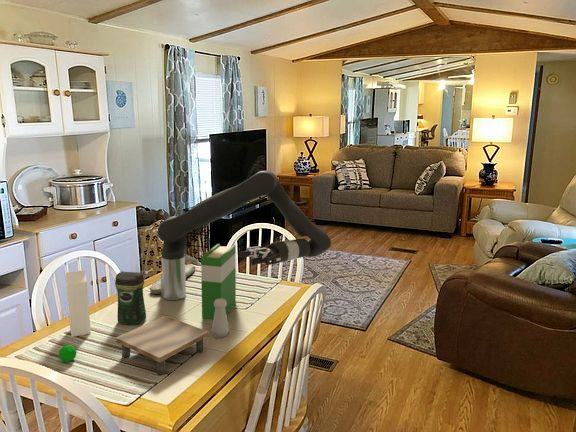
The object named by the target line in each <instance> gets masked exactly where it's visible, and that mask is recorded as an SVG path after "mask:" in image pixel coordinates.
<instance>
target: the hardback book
mask: <svg viewBox="0 0 576 432" xmlns="http://www.w3.org/2000/svg"><path fill="white" fill-rule="evenodd" d="M236 252H237V251H236V244H233V245H232V246H224V245H223V246H222V245H221V244H220V243H217V244H215V245H214V246H213V247H212V248H210V249H209V250H208V251H207V252H205V253H204V254H203V255H202V256H201V257H200V260H201V261H200V263H201V264H200V265H201V266H200V268H201V269H200V270H201V272H200V273H201V319H202V320H206V321H207V320H208V321H213V319H214V314H215V308H216V307H214V301H215V300H216V299H220V298H222V299H225V300H226V302H227V305H226V307H225V311H226V315H228V313H229V311H231V309H232V308H233V306H234V305H235V304H236V302H237V301H236V296H237V295H236V293H237V289H236V284H237V283H236V281H237V280H236V272H237V271H236V267H237V263H236V262H237V261H236V260H237V259H236V258H237V257H236V256H237V254H236Z"/></svg>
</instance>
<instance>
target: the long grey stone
mask: <svg viewBox="0 0 576 432" xmlns="http://www.w3.org/2000/svg"><path fill="white" fill-rule="evenodd" d="M195 270H197V268H196V266H195V264H192V263H190V264H189V263H188V264H185V280H186V279H187V278H188V277H189V276H191V275H192V274H193V273H195ZM149 291H150V293H151V294H152V295H153V294H154V295H157V294H158V295H161V276H160V277H159V278H158V279H157V280H156V281H155V282H154V283H152V284H151V286H150V288H149Z"/></svg>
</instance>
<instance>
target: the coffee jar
mask: <svg viewBox="0 0 576 432" xmlns="http://www.w3.org/2000/svg"><path fill="white" fill-rule="evenodd" d="M114 281H115V282H114V286H115V288H116V292H117V293H116V294H117V314H116V315H117V316H116V317H117V322H118V323H119V324H121V325H122V324H123V325H132V326H136V325H140V324H142V323H143V322H144V321H145V320H146V319H147V310H146V305H145V299H144V285H145V278H144V274H143V272H135V271H134V272H133V271H123V270H122V271H120V272H118V273H117V274H116V275H115V280H114Z"/></svg>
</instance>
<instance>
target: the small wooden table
mask: <svg viewBox="0 0 576 432" xmlns="http://www.w3.org/2000/svg"><path fill="white" fill-rule="evenodd" d="M207 337H209V331H207V330H205V329H202V328H200V327H196V326H194V325H192V324H189V323H186V322H184V321H181V320H178V319H176V318H173V317H171V316H168V315H163V316H162V317H158V318H157V319H154V320H153V321H150V322H148V323H146V324H143V325H141V326H139V327H136V328H134V329H132V330H130V331H128V332H125V333H123V334H121V335H118V336H116V337H115V343H117V344H119V345H121V357H122V358H123V357H124V358H123V359H128V358H130V357H131V351H134V352H137V353H138V354H140V355H143V356H145V357H147V358H149V359H151V360H153V361H156V375H158V374H159V375H158V376H163V375H165V374H166V360H167V359H169V358H170V357H173V356H175V355H177V354H178V353H180V352H182V351H183V350H186V349H188V348H189V347H191V346H193V345H195V352H196V353H197V354H201V353H204V351H205V350H204V349H205V348H204V347H205V346H204V345H205V344H204V340H205V339H206V338H207ZM127 357H128V358H127ZM164 373H165V374H164Z"/></svg>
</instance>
